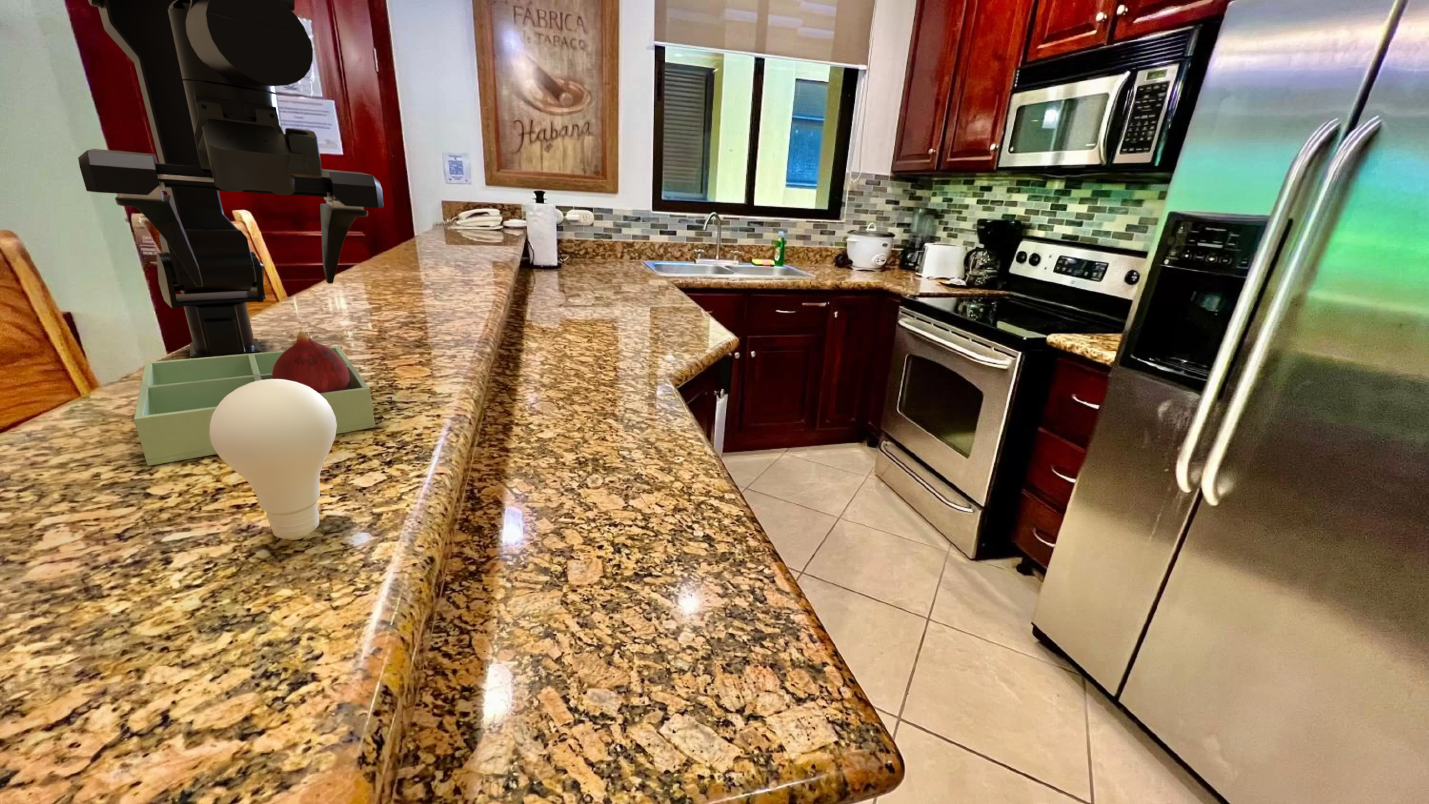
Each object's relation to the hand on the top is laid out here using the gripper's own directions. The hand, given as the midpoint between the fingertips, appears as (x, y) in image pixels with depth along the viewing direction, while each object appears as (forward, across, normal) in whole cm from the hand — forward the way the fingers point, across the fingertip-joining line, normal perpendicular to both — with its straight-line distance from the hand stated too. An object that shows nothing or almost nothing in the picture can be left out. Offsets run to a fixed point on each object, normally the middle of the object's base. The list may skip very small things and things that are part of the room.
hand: (268, 284), depth 49 cm
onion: (+12, +2, -3) cm, 13 cm away
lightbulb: (+12, -2, -23) cm, 27 cm away
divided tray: (+13, -2, +1) cm, 13 cm away
